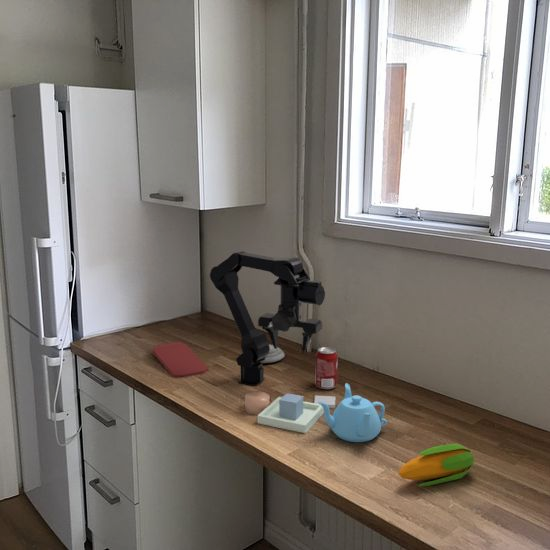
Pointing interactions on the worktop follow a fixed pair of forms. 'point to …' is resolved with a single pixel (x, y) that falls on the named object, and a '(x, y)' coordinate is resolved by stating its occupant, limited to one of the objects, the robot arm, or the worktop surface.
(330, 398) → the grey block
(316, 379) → the soda can
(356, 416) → the teapot
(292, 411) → the blue block
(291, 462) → the worktop surface
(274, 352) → the flying saucer
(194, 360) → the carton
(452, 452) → the corn
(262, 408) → the pink rounded piece
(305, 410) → the tray
